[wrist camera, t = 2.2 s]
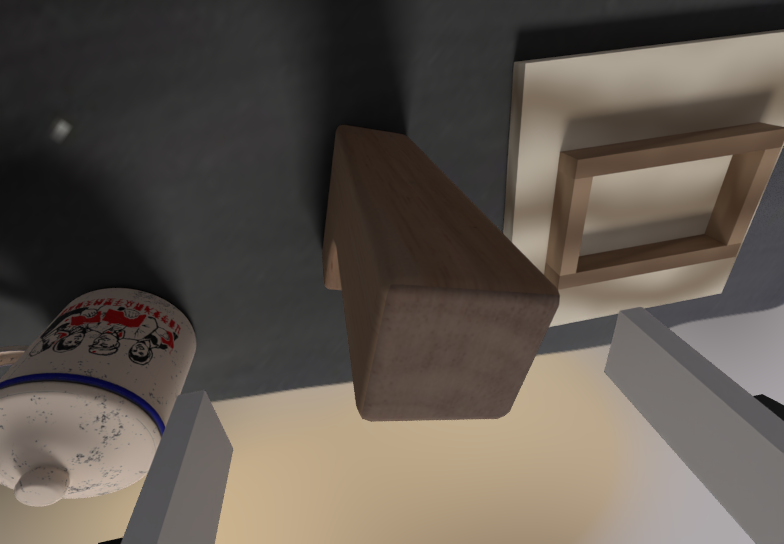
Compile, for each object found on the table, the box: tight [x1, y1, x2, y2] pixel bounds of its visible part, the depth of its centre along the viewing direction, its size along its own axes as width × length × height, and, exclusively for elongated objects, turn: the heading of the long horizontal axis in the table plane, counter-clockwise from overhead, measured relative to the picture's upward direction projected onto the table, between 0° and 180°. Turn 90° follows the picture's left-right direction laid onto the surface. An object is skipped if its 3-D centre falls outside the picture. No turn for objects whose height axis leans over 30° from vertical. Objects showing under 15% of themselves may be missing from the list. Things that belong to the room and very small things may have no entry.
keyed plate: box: [503, 29, 784, 327], centre depth 28 cm, size 20×20×4 cm
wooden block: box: [322, 125, 560, 421], centre depth 18 cm, size 9×4×18 cm, turn 169°
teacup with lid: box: [0, 288, 196, 506], centre depth 23 cm, size 12×9×12 cm
